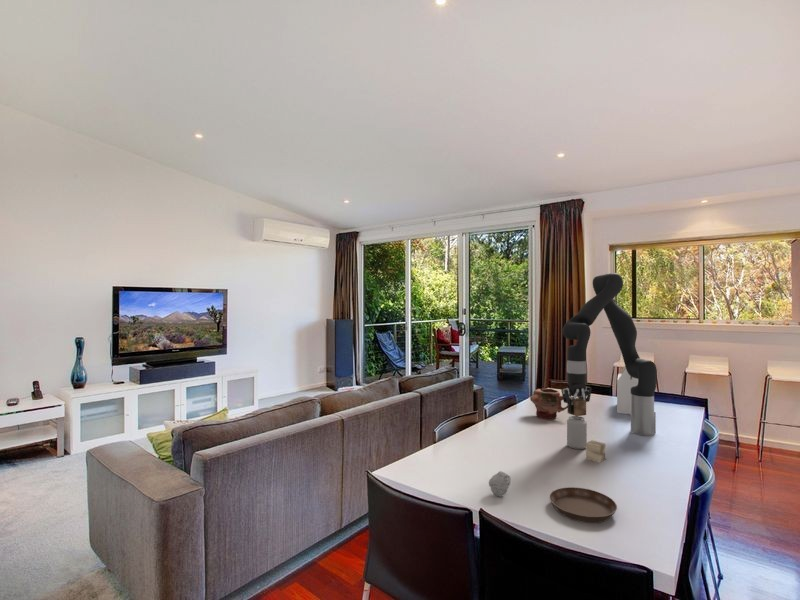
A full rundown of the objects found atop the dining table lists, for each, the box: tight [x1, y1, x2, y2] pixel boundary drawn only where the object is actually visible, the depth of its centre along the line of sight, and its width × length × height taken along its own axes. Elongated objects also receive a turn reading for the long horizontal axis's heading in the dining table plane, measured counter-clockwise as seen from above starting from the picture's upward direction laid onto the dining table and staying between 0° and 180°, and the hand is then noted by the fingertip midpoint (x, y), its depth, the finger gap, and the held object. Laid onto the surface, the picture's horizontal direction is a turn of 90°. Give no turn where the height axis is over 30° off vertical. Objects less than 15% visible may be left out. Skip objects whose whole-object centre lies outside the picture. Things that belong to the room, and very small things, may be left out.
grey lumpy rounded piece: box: [488, 470, 512, 497], centre depth 130 cm, size 6×7×7 cm
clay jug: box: [529, 388, 568, 421], centre depth 216 cm, size 20×12×14 cm, turn 60°
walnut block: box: [567, 397, 587, 417], centre depth 173 cm, size 5×5×6 cm
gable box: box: [616, 366, 638, 415], centre depth 231 cm, size 22×13×28 cm, turn 151°
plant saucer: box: [549, 486, 618, 524], centre depth 121 cm, size 18×18×3 cm
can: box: [566, 415, 588, 450], centre depth 173 cm, size 8×8×12 cm
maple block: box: [585, 439, 607, 463], centre depth 160 cm, size 5×5×6 cm
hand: (576, 412), depth 173 cm, fingers closed on walnut block, 4 cm apart
